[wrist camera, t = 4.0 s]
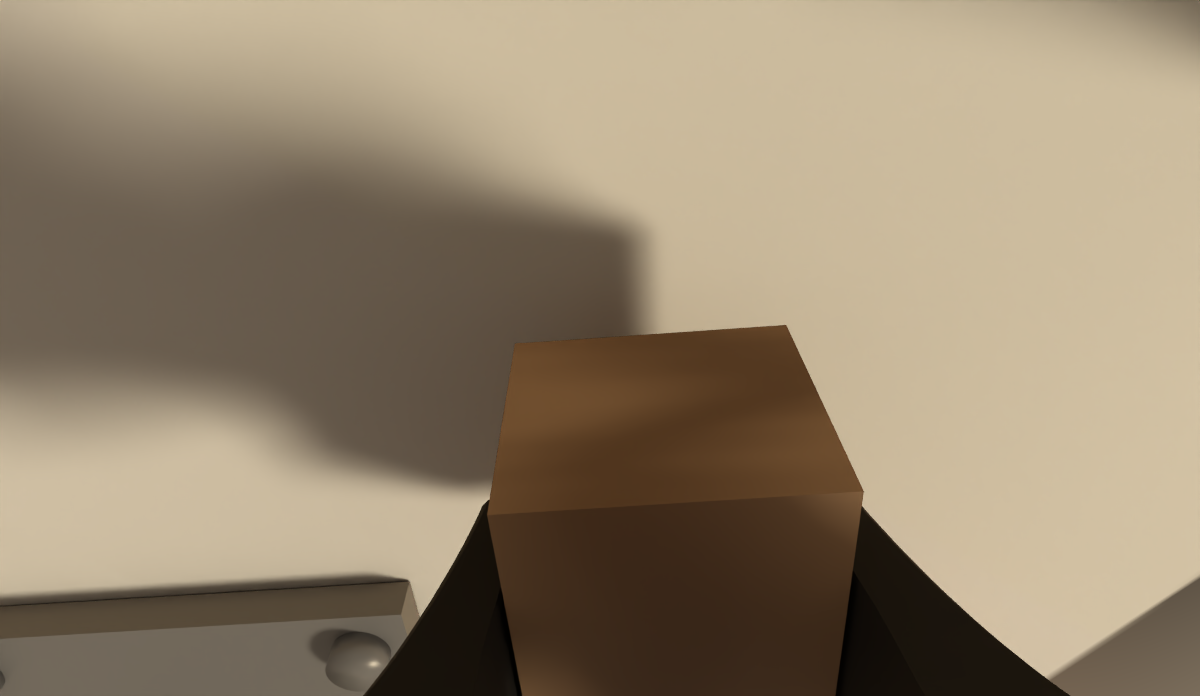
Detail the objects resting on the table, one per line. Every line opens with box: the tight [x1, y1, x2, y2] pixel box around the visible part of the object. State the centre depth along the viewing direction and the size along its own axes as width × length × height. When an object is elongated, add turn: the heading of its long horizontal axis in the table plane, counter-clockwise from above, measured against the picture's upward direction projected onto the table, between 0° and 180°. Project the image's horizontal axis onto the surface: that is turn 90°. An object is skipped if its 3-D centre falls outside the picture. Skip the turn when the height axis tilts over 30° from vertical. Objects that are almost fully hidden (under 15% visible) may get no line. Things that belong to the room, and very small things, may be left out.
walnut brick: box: [487, 325, 864, 696], centre depth 12 cm, size 4×6×4 cm
